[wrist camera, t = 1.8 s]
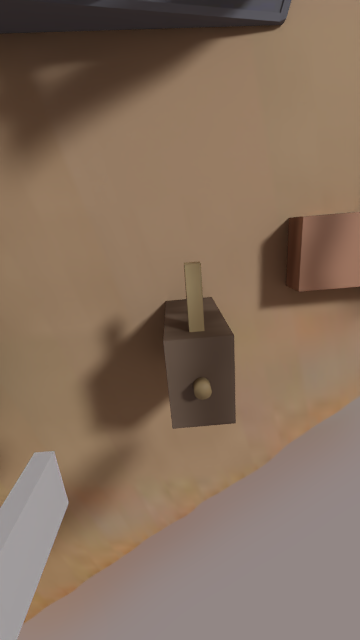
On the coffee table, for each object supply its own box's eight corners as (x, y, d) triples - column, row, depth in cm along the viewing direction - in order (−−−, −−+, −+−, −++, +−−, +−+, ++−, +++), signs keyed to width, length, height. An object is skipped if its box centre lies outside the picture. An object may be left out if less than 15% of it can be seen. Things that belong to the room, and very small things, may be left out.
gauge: (172, 362, 26) (172, 437, 17) (161, 254, 23) (154, 272, 13) (214, 358, 26) (238, 432, 17) (209, 250, 23) (236, 265, 13)
